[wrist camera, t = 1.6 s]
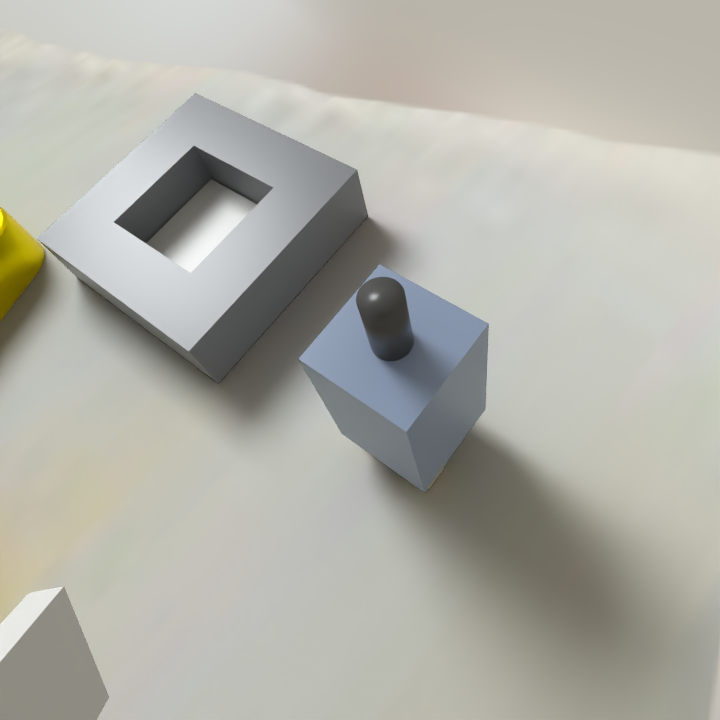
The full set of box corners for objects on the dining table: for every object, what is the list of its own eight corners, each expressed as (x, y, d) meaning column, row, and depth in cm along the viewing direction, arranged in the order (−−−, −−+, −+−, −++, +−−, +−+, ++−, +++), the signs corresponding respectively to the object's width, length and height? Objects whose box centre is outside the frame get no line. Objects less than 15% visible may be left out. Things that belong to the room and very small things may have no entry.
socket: (75, 276, 40) (36, 238, 36) (218, 139, 43) (195, 93, 40) (218, 383, 34) (188, 351, 30) (368, 215, 38) (357, 169, 34)
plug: (348, 445, 31) (274, 317, 19) (405, 372, 32) (367, 213, 21) (427, 501, 29) (395, 397, 17) (484, 422, 30) (490, 276, 19)
